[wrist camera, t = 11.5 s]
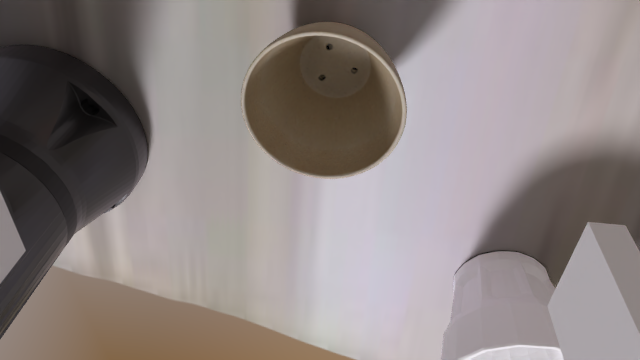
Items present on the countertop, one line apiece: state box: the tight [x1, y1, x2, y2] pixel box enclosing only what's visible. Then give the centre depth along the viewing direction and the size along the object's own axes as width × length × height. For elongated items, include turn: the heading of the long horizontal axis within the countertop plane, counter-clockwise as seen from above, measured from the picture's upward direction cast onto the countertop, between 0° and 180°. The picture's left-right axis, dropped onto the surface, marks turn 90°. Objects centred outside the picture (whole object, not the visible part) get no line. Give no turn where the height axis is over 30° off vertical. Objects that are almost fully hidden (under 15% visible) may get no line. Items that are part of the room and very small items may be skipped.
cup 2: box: [441, 251, 564, 360], centre depth 43 cm, size 12×12×11 cm
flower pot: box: [241, 22, 407, 179], centre depth 34 cm, size 10×10×7 cm
